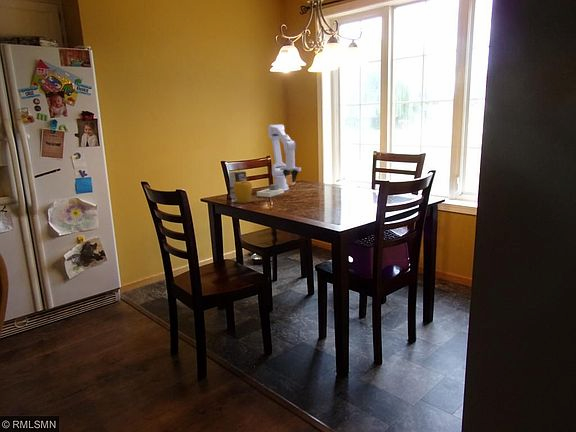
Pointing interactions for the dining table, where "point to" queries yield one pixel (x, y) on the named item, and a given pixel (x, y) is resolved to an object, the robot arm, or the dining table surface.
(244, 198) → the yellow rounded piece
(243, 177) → the coffee box
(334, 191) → the dining table surface
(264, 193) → the white rectangular base
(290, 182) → the plug
